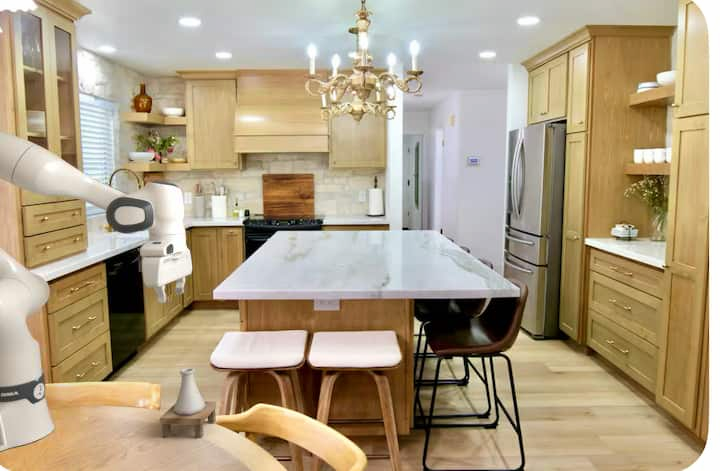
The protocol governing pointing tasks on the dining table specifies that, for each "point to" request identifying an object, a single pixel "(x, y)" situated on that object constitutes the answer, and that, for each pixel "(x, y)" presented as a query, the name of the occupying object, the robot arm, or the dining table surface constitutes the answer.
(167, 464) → the dining table surface
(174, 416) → the walnut stand
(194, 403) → the flask
